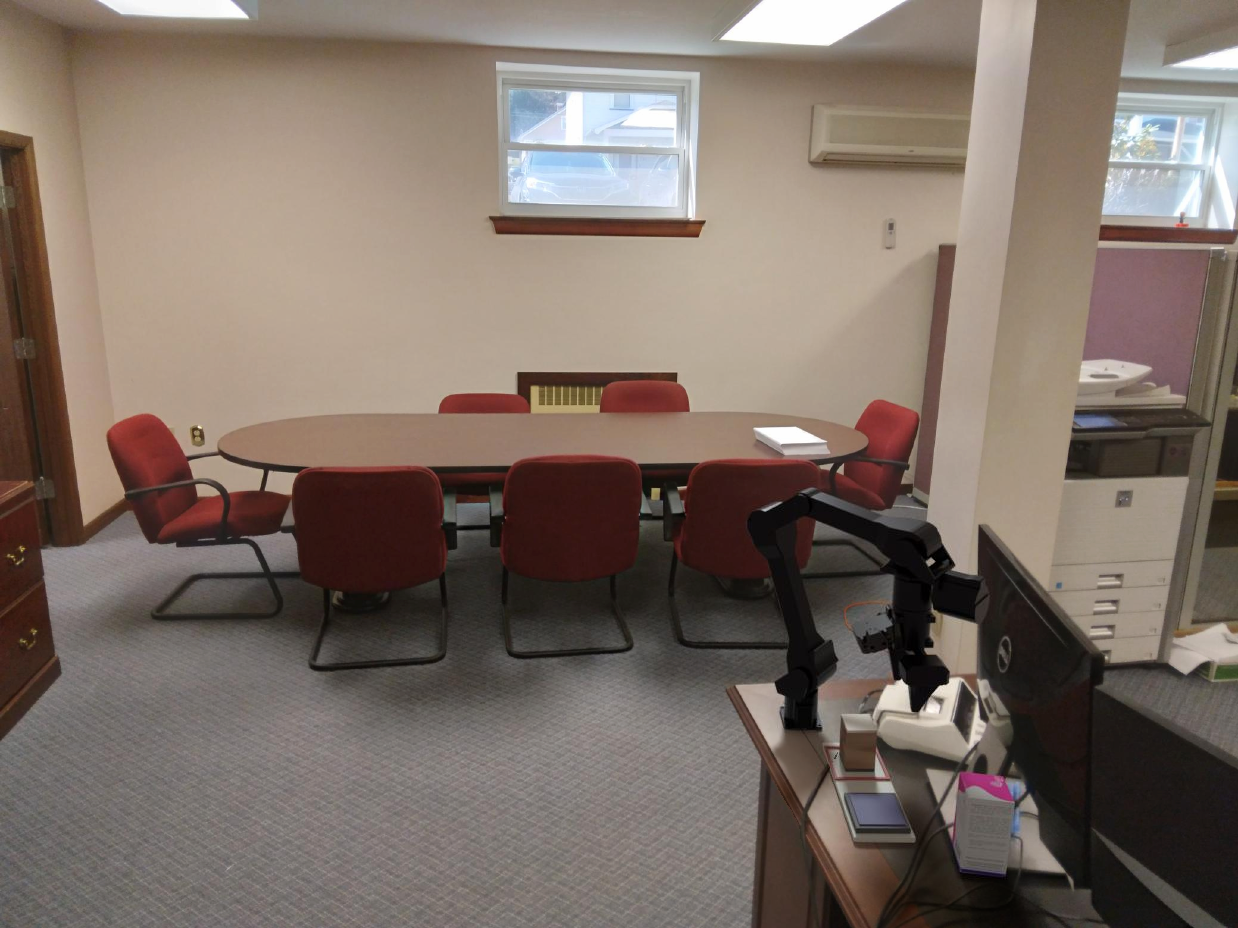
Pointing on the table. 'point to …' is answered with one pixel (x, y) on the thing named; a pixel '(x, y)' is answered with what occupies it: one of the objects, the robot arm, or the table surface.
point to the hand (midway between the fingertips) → (905, 695)
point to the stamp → (857, 742)
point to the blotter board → (869, 801)
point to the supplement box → (982, 824)
